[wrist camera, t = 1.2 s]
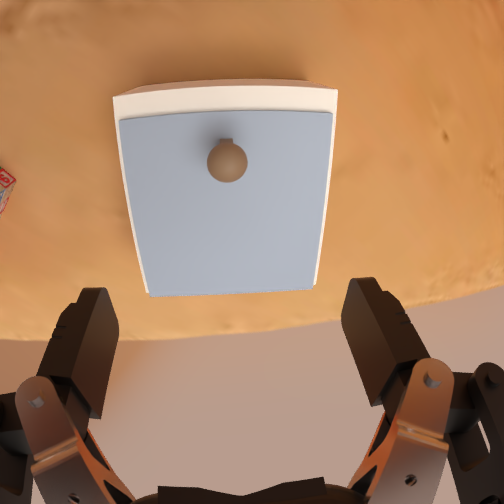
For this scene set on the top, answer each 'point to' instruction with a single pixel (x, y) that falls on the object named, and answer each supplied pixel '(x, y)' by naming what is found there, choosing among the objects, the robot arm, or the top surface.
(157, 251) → the box lid
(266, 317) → the top surface
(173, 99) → the carton
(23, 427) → the robot arm
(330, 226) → the top surface
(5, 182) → the stack of blocks
